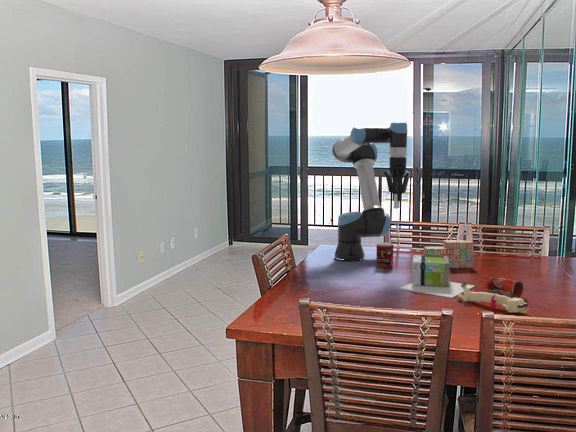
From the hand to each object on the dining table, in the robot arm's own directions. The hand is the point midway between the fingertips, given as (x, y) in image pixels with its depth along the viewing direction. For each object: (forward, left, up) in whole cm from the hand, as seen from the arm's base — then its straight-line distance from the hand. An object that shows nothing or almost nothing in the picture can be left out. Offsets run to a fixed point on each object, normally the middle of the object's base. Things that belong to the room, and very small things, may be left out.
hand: (396, 208), depth 256 cm
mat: (+31, -22, -28) cm, 48 cm away
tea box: (+19, -20, -23) cm, 36 cm away
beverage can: (+56, -18, -29) cm, 65 cm away
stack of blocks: (+18, +18, -29) cm, 38 cm away
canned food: (-6, 0, -28) cm, 29 cm away
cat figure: (+58, -35, -29) cm, 74 cm away
